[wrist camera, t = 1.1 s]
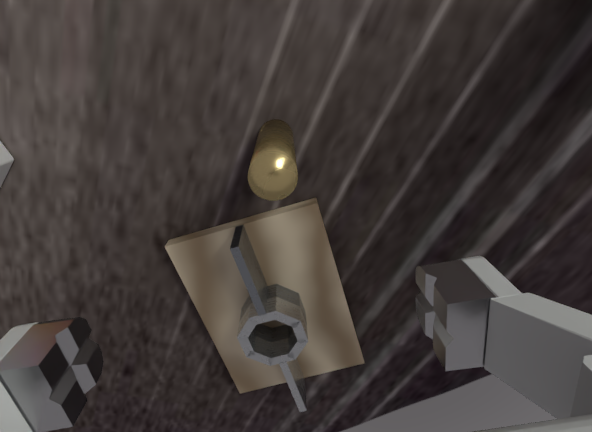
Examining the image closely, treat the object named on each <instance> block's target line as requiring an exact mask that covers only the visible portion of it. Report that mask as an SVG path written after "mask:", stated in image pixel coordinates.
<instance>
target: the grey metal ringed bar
mask: <svg viewBox="0 0 592 432" xmlns="http://www.w3.org/2000/svg"><path fill="white" fill-rule="evenodd" d="M230 251H231V253H232V255H233V258H234V260H235V262H236V265H237V267H238V269H239V272H240V274H241V276H242V279H243V281H244V283H245V286H246V288H247V290H248V293H249V297H248V298H247V300H246V302H245V303H244V305H243V307H242V309H241V315H240V322H239V328H238V334H237V339H238V341H239V343H240V345H241V347H242V349H243V351H244V353H245V355H246V357H247V358H250V359H253V360H255V361H258V362H261V363H264V364H266V365H269V366H272V365H276V364H279V365H280V367H281V369H282V372H283V374H284V376H285V379H286V381H287V383H288V386H289V388H290V390H291V393H292V395H293V397H294V400H295V402H296V404H297V407H298V409H299V411H300V412H303V411H307V407H306V393H305V378H304V375H303V373H302V370H301V368H300V365H299V363H298V360H297V357H298V355H299V354H300V352H301V351H302V350H303V348H304V347H305V345H306V344H307V343H308V333H307V322H306V312H305V309H304V306H303V303H302V301H301V298H300V295H299V293H297V292H295V291H292V290H290V289H288V288H285V287H283V286H281V285H278V284H273V285H270V286H268V285H267V283H266V280H265V278H264V275H263V272H262V270H261V267H260V265H259V262H258V260H257V257H256V255H255V252H254V250H253V247H252V245H251V242H250V240H249V237H248V235H247V232H246V230H245V227H244V225H239V226H236V227H235V231H234V235H233V239H232V242H231V246H230ZM272 320H277V321H279V322H282V323H284V324H285V325H282V326H278V327H274V328H271V327H268V326H266V325H263V324H261V323H264V322H268V321H272Z"/></svg>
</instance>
